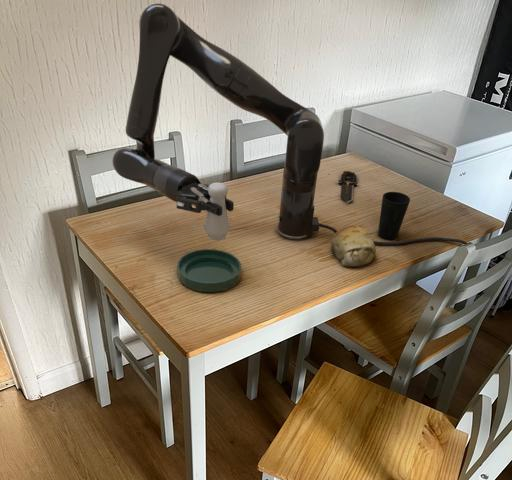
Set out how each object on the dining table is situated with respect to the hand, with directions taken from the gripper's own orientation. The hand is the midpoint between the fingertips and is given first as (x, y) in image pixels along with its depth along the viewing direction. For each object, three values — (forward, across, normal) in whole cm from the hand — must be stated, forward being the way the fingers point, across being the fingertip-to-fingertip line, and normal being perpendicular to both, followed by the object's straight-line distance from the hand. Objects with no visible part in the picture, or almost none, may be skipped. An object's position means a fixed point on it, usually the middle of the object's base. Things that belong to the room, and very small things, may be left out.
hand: (226, 209), depth 121 cm
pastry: (+14, +36, +20) cm, 44 cm away
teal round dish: (-5, 0, +20) cm, 21 cm away
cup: (+14, +54, +21) cm, 59 cm away
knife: (-13, +72, +21) cm, 76 cm away
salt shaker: (-3, 0, +8) cm, 9 cm away
